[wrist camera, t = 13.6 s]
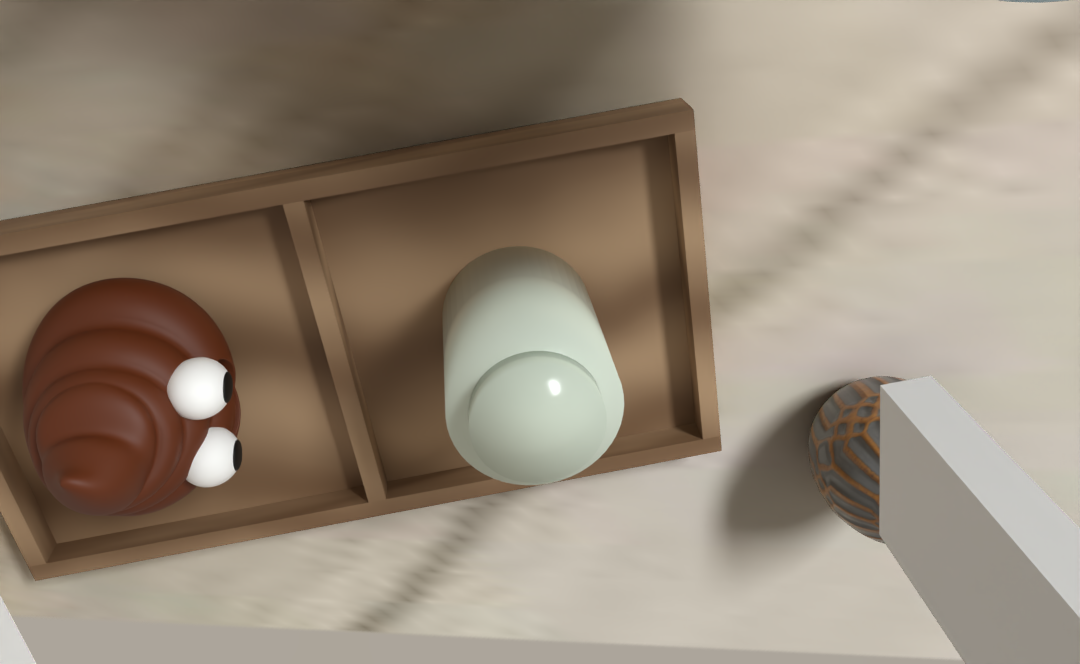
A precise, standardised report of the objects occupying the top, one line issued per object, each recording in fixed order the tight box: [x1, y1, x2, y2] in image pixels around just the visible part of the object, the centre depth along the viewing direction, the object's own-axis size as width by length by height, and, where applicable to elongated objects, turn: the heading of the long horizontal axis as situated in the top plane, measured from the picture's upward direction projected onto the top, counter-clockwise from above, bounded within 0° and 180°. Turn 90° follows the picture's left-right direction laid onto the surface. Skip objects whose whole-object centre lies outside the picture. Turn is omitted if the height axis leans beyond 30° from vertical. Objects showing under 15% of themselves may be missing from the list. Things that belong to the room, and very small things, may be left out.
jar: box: [442, 246, 624, 485], centre depth 38 cm, size 6×6×9 cm
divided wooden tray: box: [0, 98, 722, 581], centre depth 41 cm, size 16×31×2 cm, turn 99°
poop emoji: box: [22, 278, 242, 516], centre depth 37 cm, size 10×8×9 cm
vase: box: [808, 376, 905, 543], centre depth 43 cm, size 7×7×9 cm
